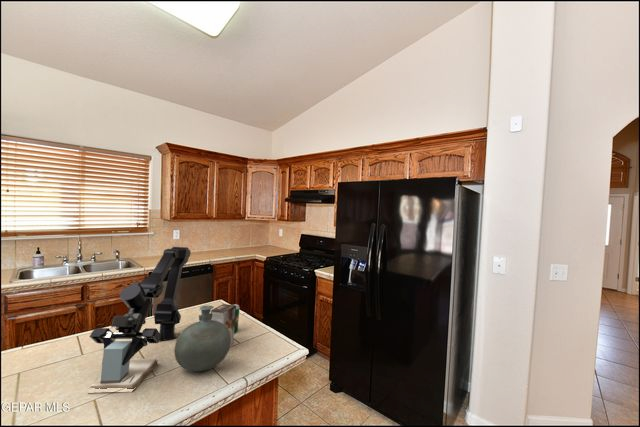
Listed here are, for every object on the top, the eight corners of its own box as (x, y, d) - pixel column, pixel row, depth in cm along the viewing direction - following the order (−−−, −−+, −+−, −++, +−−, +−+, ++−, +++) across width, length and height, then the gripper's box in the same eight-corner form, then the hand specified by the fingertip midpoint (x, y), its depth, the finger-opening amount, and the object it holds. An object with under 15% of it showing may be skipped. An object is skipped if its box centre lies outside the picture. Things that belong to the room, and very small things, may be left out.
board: (120, 364, 89) (121, 358, 89) (157, 363, 91) (157, 357, 91) (87, 393, 73) (88, 386, 74) (132, 392, 75) (133, 385, 75)
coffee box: (220, 340, 111) (223, 303, 112) (233, 342, 110) (236, 305, 111) (207, 350, 102) (210, 309, 103) (221, 353, 101) (225, 311, 102)
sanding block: (110, 373, 80) (114, 341, 81) (128, 373, 81) (131, 341, 81) (100, 383, 75) (103, 349, 76) (119, 382, 76) (122, 348, 77)
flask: (184, 360, 94) (189, 300, 95) (231, 362, 94) (236, 302, 96) (167, 379, 82) (173, 310, 83) (220, 381, 83) (226, 313, 84)
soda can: (226, 329, 122) (228, 304, 123) (237, 328, 124) (239, 303, 125) (226, 334, 118) (229, 307, 118) (238, 333, 120) (240, 307, 120)
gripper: (97, 302, 81) (64, 355, 70) (160, 303, 84) (138, 355, 73) (110, 318, 89) (83, 369, 77) (168, 319, 91) (149, 367, 80)
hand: (113, 365), depth 77 cm, fingers closed on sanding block, 5 cm apart
